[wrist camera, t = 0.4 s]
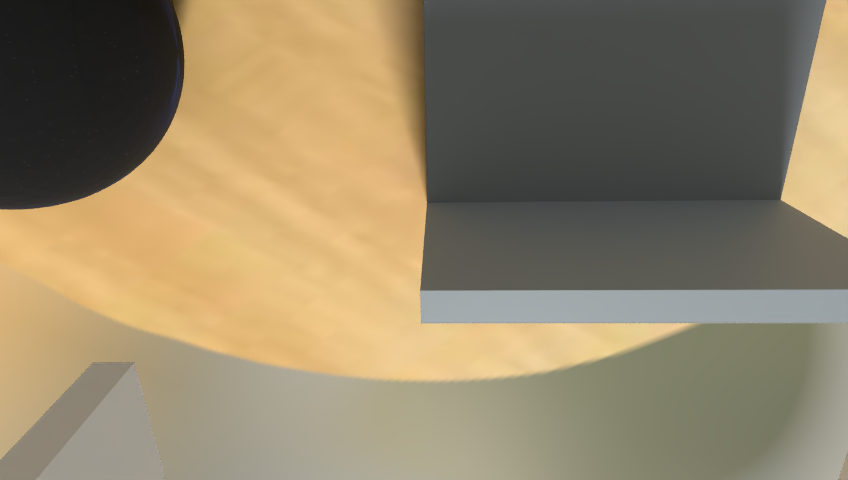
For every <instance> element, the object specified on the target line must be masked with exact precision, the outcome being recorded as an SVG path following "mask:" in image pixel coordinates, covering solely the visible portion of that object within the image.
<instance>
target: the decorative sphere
mask: <svg viewBox="0 0 848 480" xmlns="http://www.w3.org/2000/svg"><path fill="white" fill-rule="evenodd" d="M183 79H184V49H183V41H182V35H181V30H180V26H179V22H178V19H177V15H176V13H175V10H174V7H173V4H172V2H171V0H0V209H34V208H42V207H49V206H54V205H59V204H63V203H68V202H72V201H75V200H78V199H81V198H85V197H87V196H89V195H92V194H94V193H97V192H99V191H101V190H103V189H105V188H107V187H109V186H111V185H112V184H114V183H116V182H118V181H119V180H121V179H122V178H124V177H125V176H127V175H128V174H129V173H131V172H132V171H133V170H134V169H135V168H137V167H138V166H139V165H140V164H141V163H142V162H143V161H144V160H145V159H146V158H147V157H148V156H149V155H150V154H151V153H152V152H153V151H154V149H155V148H156V147H157V145H158V144H159V142H160V141H161V140H162V138H163V137H164V135H165V133H166V132H167V130H168V128H169V126H170V125H171V122H172V120H173V118H174V115H175V113H176V110H177V107H178V104H179V100H180V96H181V92H182V87H183Z"/></svg>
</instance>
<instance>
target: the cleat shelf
mask: <svg viewBox="0 0 848 480" xmlns="http://www.w3.org/2000/svg"><path fill="white" fill-rule="evenodd" d="M825 3H826V0H424V50H425V108H426V166H427V211H426V224H425V237H424V250H423V263H422V276H421V289H420V297H421V323H848V239H847V238H846V237H844V236H842V235H840V234H839V233H837V232H835V231H833V230H832V229H830V228H828V227H826V226H825V225H823V224H821V223H820V222H818V221H816V220H814V219H813V218H811V217H809V216H807V215H806V214H804V213H802V212H801V211H799V210H797V209H795V208H794V207H792V206H790V205H788V204H787V203H785V202H783V201H781V200H780V199H781V195H782V190H783V186H784V182H785V177H786V173H787V169H788V164H789V160H790V156H791V151H792V147H793V142H794V138H795V134H796V129H797V125H798V121H799V116H800V112H801V108H802V103H803V99H804V95H805V90H806V86H807V82H808V77H809V73H810V68H811V64H812V60H813V55H814V51H815V47H816V42H817V38H818V34H819V29H820V25H821V21H822V16H823V12H824V8H825Z"/></svg>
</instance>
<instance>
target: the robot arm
mask: <svg viewBox="0 0 848 480" xmlns="http://www.w3.org/2000/svg"><path fill="white" fill-rule="evenodd" d="M164 478H165V476H164V472H163V468H162V464H161V461H160V457H159V453H158V449H157V445H156V442H155V438H154V434H153V430H152V427H151V423H150V420H149V415H148V411H147V408H146V404H145V400H144V396H143V393H142V389H141V385H140V381H139V378H138V374H137V370H136V366H135V363H134V362H94V363H92V364H91V365H90V366H89V367H88V368H87V369H86V370H85V372H84V373H83V374H82V375H81V376H80V377H79V378H78V379H77V380H76V381H75V382H74V383H73V384H72V385H71V386H70V387H69V388H68V389H67V390H66V391H65V393H64V394H63V395H62V396H61V397H60V398H59V399H58V400H57V401H56V402H55V403H54V404H53V405H52V406H51V407H50V408H49V410H47V411H46V412H45V414H44V415H43V416H42V417H41V418H40V419H39V420H38V421H37V422H36V423H35V424H34V425H33V426H32V427H31V428H30V429H29V430H28V431H27V432H26V434H25V435H24V436H23V437H22V438H21V439H20V440H19V441H18V442H17V443H16V444H15V445H14V446H13V447H12V448H11V449H10V450H9V451H8V452H7V453H6V455H5V456H4V457H3V458H2V459H1V460H0V480H164ZM838 480H848V453H847V455H846V458H845V462H844V464H843V467H842V470H841V473H840V476H839V478H838Z"/></svg>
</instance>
